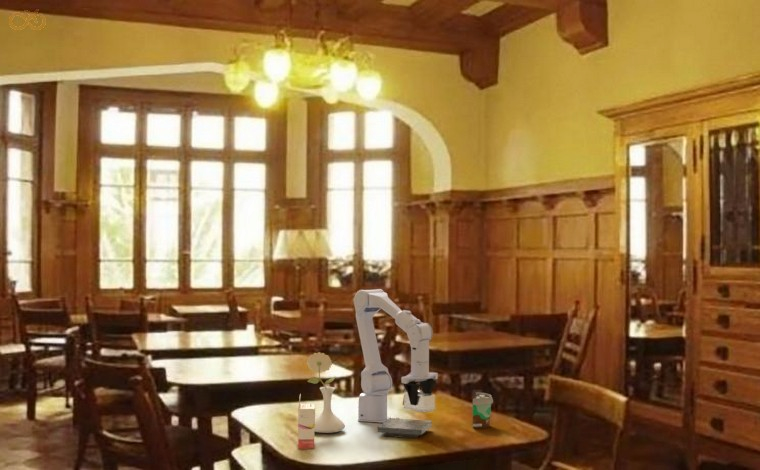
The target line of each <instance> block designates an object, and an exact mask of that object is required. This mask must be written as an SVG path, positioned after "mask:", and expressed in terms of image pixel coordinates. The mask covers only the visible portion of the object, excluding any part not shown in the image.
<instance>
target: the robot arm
mask: <svg viewBox="0 0 760 470" xmlns="http://www.w3.org/2000/svg"><path fill="white" fill-rule="evenodd" d="M352 301H353V305H354V310H355V320H356V324H357V329H358V330H357V331H358V335H359V339H360V346H361V351H362V355H363V359H364V360H363V361H364V365H365V367H364V368H363V370H361V373H360V378H361V381H360V387H361V389H362V392H361V393H360V394H359V397H358V407H357V408H358V413H357V414H358V418H357V421H358V422H365V423H366V422H368V423H380V424H382V423H384V422H385V421H386V420H388V419H389V418H392V417H391V416H388V394H389V393H390V390H391V389H392V386H393V379H392V376H391V374H390V372H389V368H388V367H387V366H385V365H384V364H383V363H382V360H381V355H380V349H379V345H378V340H377V335H376V330H375V324H374V321H373V318H374V317H375V316H376V314H377V313H378V312H379V311H380V310H383V311H384V312H385V313H387V314H388V315H389V316H391V317H392V318H393V319H394V323H395V324H396V326H398V327H399V328H400V329H402V331H403V332H404V333H406V334H407V339H408V341H409V346H410V373H411V375H408V374H407V375H408V376H407V375H405V376H401V378H400V379H401V382H400V383H401V384H403V387H404V389H405V388H406V390H407V393H408V396H409V400H410V404H411V405H416V404H417V394H418V389H419V388H420V387H421V391H424V393H429V394H433V393H432V392H433V390H434V388H435V386H436V385H437V380H438V377H439V374H438V372H430V371H429V369H430V340H432V338H433V336H434V331H433V328H432V326H431V325H430V323H428V322H422V321H421V320H420V319H418V318H417V317H416V316H414V315H413V314H412V311H411V310H406V309H403V310H402V309H401V308H400V307H399V306H398V305H397V304H395V302H394V301H393V300H391V298H389V296H388V293H387V292H385V291H384V290H383V289H381V288H377V289H359V290H357V292H356V293H355V295H354V297H353V299H352ZM418 381H420V385H419V384H418ZM416 382H417V383H416Z"/></svg>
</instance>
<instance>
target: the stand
mask: <svg viewBox="0 0 760 470" xmlns="http://www.w3.org/2000/svg"><path fill="white" fill-rule="evenodd" d="M397 418H398V417H391V418H389V419H388V420H386V421H385V422H384V423H380V425H378V426H377V432H378V433H385V434H384V435H385V436H386V437H395V436H397V438H408V439H409V438H411V439H417V438H418V437H420V436H422V435H423V434H425V433H426V431H428V429H430V427H432V425H433V424H432V423H433V422H432V420H427V419H426V420H425V419H423V420H422V419H412V418H411V419H409V418H400V419H397Z"/></svg>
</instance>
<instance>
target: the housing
mask: <svg viewBox="0 0 760 470" xmlns="http://www.w3.org/2000/svg"><path fill="white" fill-rule="evenodd" d="M404 392H405V391H404ZM404 392H403V393H404ZM403 398H404V405H403V409H406V410H411V411H414V412H419V413H429V412H434V411H436V395H435V394H433V393H431V394H429V393H424V391H422V389H420V390H418V394H417V404H416V405H411V404H410V400H409V396H408V393H407V392H405V393H404V394H403Z"/></svg>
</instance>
